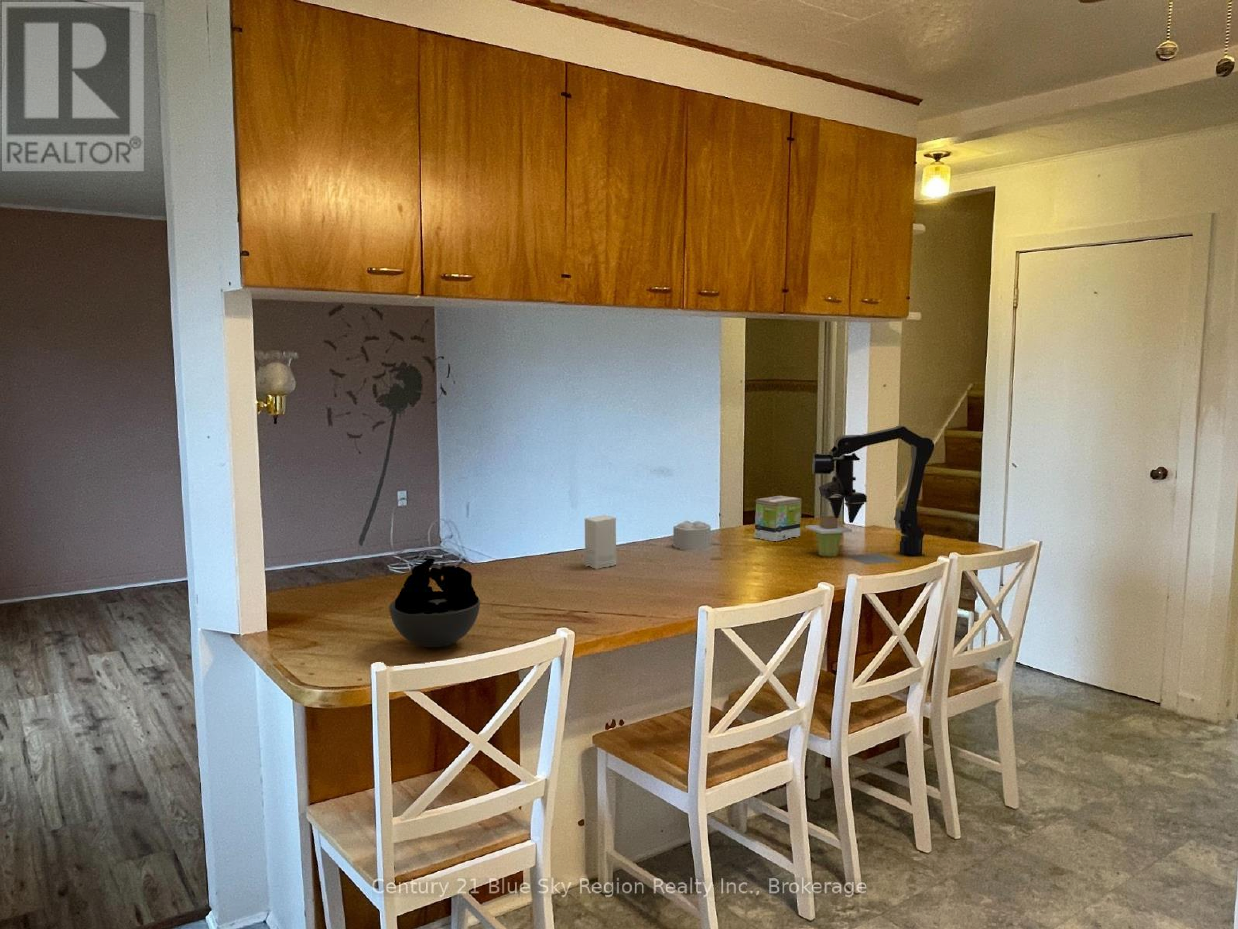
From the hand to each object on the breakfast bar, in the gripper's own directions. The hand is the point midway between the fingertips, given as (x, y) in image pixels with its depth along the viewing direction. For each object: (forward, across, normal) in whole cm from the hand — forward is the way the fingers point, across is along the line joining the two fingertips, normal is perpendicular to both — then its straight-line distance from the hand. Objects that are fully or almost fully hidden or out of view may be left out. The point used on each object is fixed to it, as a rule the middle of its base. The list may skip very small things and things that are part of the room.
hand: (843, 520), depth 292 cm
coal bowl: (+10, +59, -138) cm, 151 cm away
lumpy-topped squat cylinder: (+11, -27, -43) cm, 52 cm away
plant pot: (+12, 0, -6) cm, 13 cm away
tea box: (+12, -33, -8) cm, 36 cm away
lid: (+3, 0, -6) cm, 6 cm away
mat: (+12, +10, +5) cm, 16 cm away
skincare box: (+11, -7, -82) cm, 83 cm away
